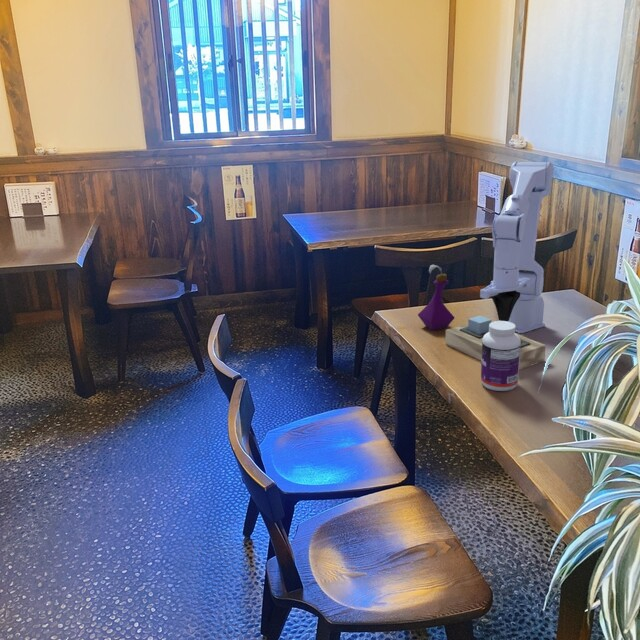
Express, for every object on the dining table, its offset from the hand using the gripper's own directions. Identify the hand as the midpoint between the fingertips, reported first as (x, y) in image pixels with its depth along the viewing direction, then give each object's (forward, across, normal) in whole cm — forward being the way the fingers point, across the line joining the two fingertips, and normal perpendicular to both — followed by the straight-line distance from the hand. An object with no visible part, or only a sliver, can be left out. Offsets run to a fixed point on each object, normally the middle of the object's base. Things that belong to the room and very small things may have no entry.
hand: (503, 320), depth 150 cm
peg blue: (+6, 0, -8) cm, 10 cm away
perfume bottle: (+10, 0, -25) cm, 27 cm away
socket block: (+9, 0, -3) cm, 10 cm away
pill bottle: (+10, +12, +11) cm, 19 cm away
